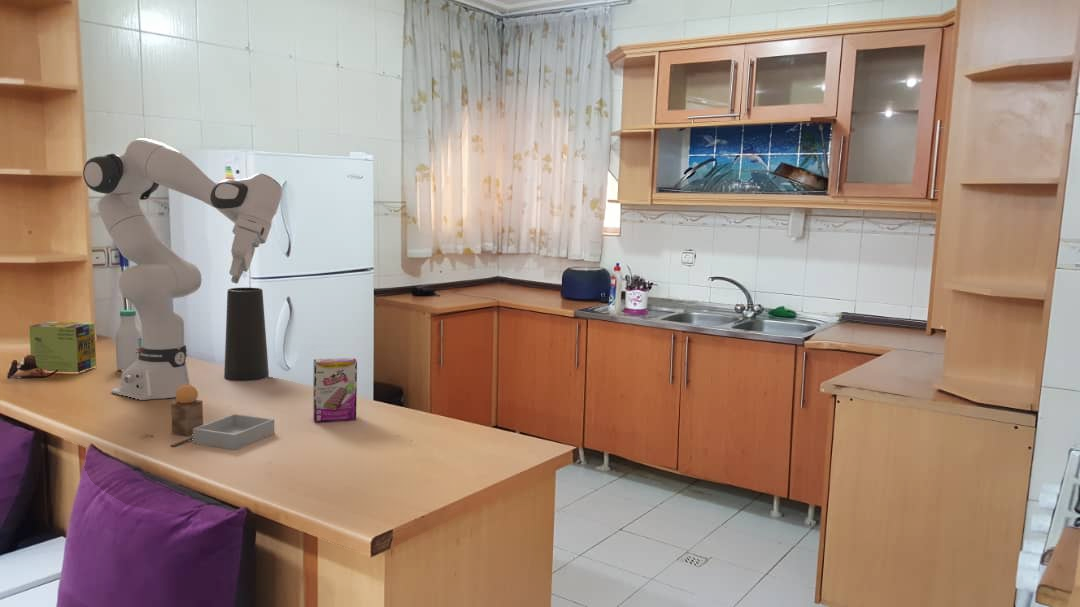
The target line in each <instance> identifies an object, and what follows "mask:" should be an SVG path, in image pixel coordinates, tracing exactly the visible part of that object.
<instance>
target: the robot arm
mask: <svg viewBox="0 0 1080 607" xmlns="http://www.w3.org/2000/svg"><path fill="white" fill-rule="evenodd" d="M82 174H83V180H84V183H85V184H86V186H87V187H88V188H89V189H90V190H91V191H94V192H96V193H99V194H104V195H103V196H102V197H101V198H100V199H98V200H99V201H98V203H97V209H98V212H99V215H100V218H101V220H102V222H103V226H104V227H105V229H106V231H107V232H108V235H109V236H110V237H111V239H112V241H113V243H114V244H115V246H116V247H117V249H118V251H119V253H120V254H121V256H122V257H123V258H125V259H126V260H128V261H130V262H132V263H134V264H135V265H133V266H130V267H128V268H125V269H124V270H122V271H121V273H120V275H119V278H118V283H117V284H118V289H119V292H120V294H121V295H122V296H123V297H124V299H126V300H128V301H129V302H130V303H131V304H132V305H133V306H134V309H136V310H135V311H136V312H137V314H138V316H139V319H140V323H141V336H142V348H140V349H136V350H139V351H137V352H136V353H140V354H139V357H138V360H137V361H136V362H134V363H133V364H132V365H131V366H129V367H128V368H127V369H126V370H124V371H121V372H122V373H121V375H120V385H119V386H116V387H114V388H112V389H111V392H113V393H112V394H114V393H116V394H115V395H117V394H121V395H124V396H123V397H125V396H128V397H127V398H129V397H132V398H131V399H133V398H135V399H134V400H137V399H139V400H138V401H147V400H154V399H155V400H157V399H159V400H160V399H168V398H169V399H170V398H171V399H172V398H176V391H177V390H178V388H179V387H181V386H183V385H192V383H190V378H189V372H188V365H187V364H188V363H187V360H186V358H187V350H188V349H187V345H186V344H185V322H184V319H183V317H181V316H180V315H179V314H177V313H175V312H174V310H173V308H172V305H171V301H170V300H172V299H179V298H184V297H187V296H190V295H191V294H194V293H195V292H197V291H198V290H199V289H200V288H201V285H202V280H203V278H202V273H201V271H200V269H199V268H198V266H196V265H195V264H193V263H192V262H190V261H187V260H185V259H183V257H180V255H178V254H177V253H176V252H175V251H173V250H172V249H171V247H169V246H168V245H167V244H166V243H165V242H164V241H163V240H162V239H161V237H160V236H159V235H158V233H157V232H156V230H155V228H154V227H153V225H152V224H151V222H150V220H149V218H148V217H147V216H146V214H145V212H144V211H143V209H142V208H141V205H140V201H141V200H142V201H144V200H147V199H149V198H150V196H151V194H153V193H154V192H155V191H157V189H158V188H159V186H161V187H164V188H167V189H170V190H172V191H176V192H179V193H181V194H183V195H186V196H189V197H192V198H194V199H197V200H199V201H201V202H202V203H205V204H207V205H209V206H211V207H212V208H214V209H216V210H217V211H218V212H219V213H221V214H222V215H224V216H225V217H226V218H227V219H229V220H230V221H231V222H232V223H233V224H234V226H233V227H232V228H233V229H232V231H231V232H232V234H234V237H233V241H232V244H231V257H232V261H231V265H230V269H229V271H228V273H229V275H230V276H232V277H231V279H230V280H231V283H234V284H235V285H236V284H238V283H239V281H240V279H241V277H242V275H243V274H244V272H245V273H246V272H248V271H249V269H250V266H251V263H252V261H253V257H254V254H255V251H256V248H259V246H260V244H261V245H262V244H265V243H266V242H267V239H268V236H269V233H270V232H271V228H272V222H273V218H274V217H275V215H276V213H277V212H278V209H279V206H280V203H281V199H282V193H283V188H282V185H281V184H280V183H279V182H278V181H276V179H274V178H273V177H272V176H269V175H268V174H264V173H256V174H254V175H252V176H250V177H247V178H241V179H233V178H226V179H223V180H220V181H218V182H217V183H216V182H214V181H213V180H212V179H211V178H210V177H208V175H207V174H205V173H204V172H203V171H202V170H201V169H200V168H199V167H198V166H197V165H196V164H195V162H193V161H192V160H191V159H189V157H187V156H186V155H185V154H183V153H182V152H181V151H179V150H177V149H176V148H174V147H171V146H170V145H167V144H165V143H163V142H159V141H157V140H153V139H149V138H141V137H140V138H136V139H134V140H132V141H131V142H130V143H129V144H128V146H127V147H126V149H125V152H124V153H123V154H120V155H117V154H115V153H108V154H103V155H98V156H94V157H91V158H90V159H88V160H87V161H86V162H85V163H84V166H83V171H82ZM121 395H120V396H121Z"/></svg>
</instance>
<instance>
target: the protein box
mask: <svg viewBox="0 0 1080 607" xmlns="http://www.w3.org/2000/svg"><path fill="white" fill-rule="evenodd" d="M95 328H96V326H95V322H79V321H75V322H73V321H48V322H43V323H37V324H33V325H30V326H29V344H30V346H29V347H30V356H31V355H33V356H35V360H36V365H37V366H38V367H39V368H42V369H44V370H47V371H54V370H58V372H80V371H83V370H86V369H89V368H92V367H94V366H96V367H97V354H96V353H97V351H96V350H97V349H96V334H95V332H96V331H95Z"/></svg>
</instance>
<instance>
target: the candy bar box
mask: <svg viewBox="0 0 1080 607" xmlns="http://www.w3.org/2000/svg"><path fill="white" fill-rule="evenodd" d="M312 374H313V378H312V379H313V380H312V381H313V382H312V383H313V386H312V388H313V390H312V392H313V393H312V394H313V395H312V396H313V398H312V400H313V401H312V402H313V403H312V406H313V407H312V408H313V409H312V410H313V413H312V416H313V422H314V423H325V422H326V423H328V421H329V422H342V420H345V421H356V420H357V392H358V391H357V390H358V387H357V386H358V384H357V382H358V381H357V378H358V361H357V359H356V357H355V358H354V357H346V358H345V357H344V358H338V357H337V358H314V359H313V373H312ZM355 419H356V420H355Z"/></svg>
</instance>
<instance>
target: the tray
mask: <svg viewBox="0 0 1080 607" xmlns="http://www.w3.org/2000/svg"><path fill="white" fill-rule="evenodd" d="M274 434H275V419H272V418H266V417H259V416H253V415H252V416H251V415H245V414H239V413H233V414H230V415H227V416H224V417H222V418H218V419H215V420H213V421H210V422H207V423H205V424H204V423H203V425H202V426H199V427H196V428H193V435H192V437H193V440H192V443H193V444H195V443H199V444H198V445H201V444H204V445H203V446H207V445H210V446H209V447H213V446H216V447H215V448H220V447H221V449H227V450H231V451H233V450H234V451H236V450H239V449H240V448H243V447H246V446H248V445H250V444H253V443H255V442H257V441H260V440H262V439H264V437H265V438H267V437H269V436H272V435H274ZM238 448H239V449H238Z"/></svg>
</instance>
